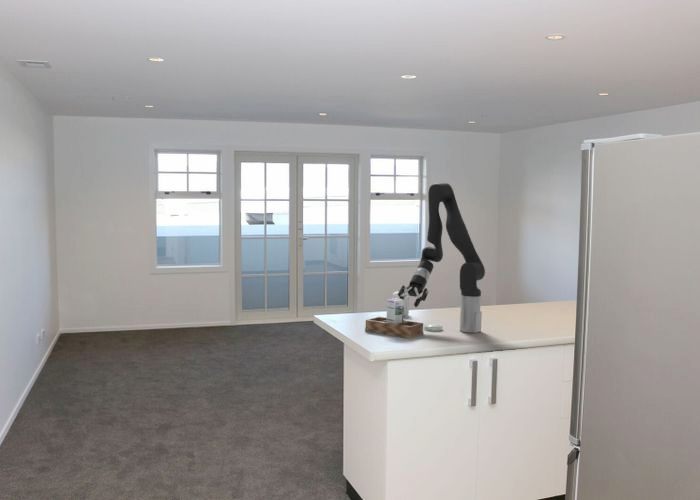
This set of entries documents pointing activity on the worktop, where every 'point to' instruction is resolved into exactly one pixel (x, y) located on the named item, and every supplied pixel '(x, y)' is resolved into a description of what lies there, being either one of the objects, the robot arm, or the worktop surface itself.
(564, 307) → the worktop surface
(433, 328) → the dish
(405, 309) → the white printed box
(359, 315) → the worktop surface
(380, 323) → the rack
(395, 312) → the syrup box
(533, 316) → the worktop surface
